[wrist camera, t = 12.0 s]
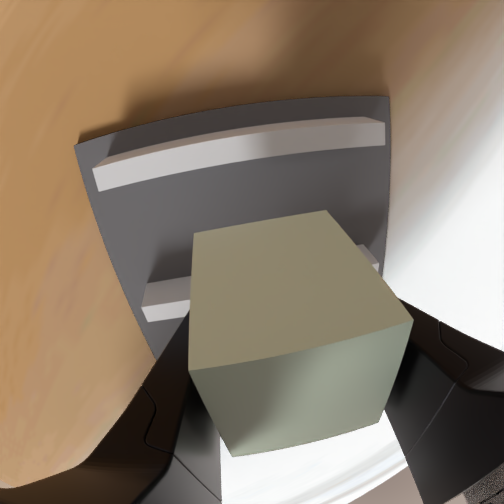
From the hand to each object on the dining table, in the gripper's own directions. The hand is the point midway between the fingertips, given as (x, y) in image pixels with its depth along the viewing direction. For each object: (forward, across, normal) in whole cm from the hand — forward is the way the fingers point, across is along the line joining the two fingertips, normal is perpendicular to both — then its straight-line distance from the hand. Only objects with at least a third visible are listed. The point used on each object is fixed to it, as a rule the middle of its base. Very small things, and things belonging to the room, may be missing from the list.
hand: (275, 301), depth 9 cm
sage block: (+1, 0, 0) cm, 1 cm away
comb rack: (+7, 0, +3) cm, 8 cm away
